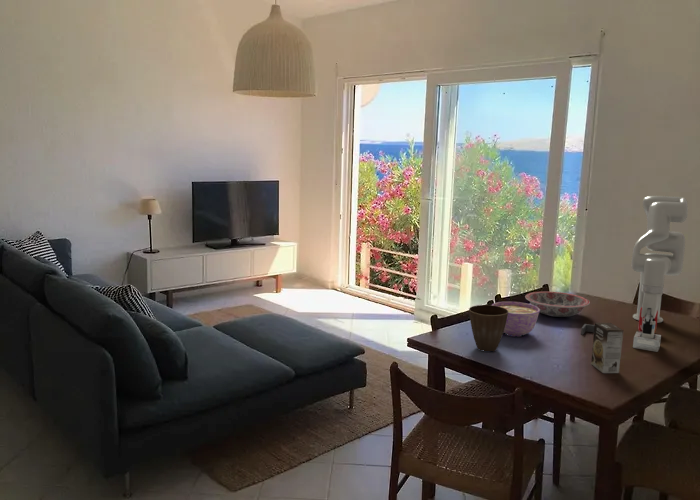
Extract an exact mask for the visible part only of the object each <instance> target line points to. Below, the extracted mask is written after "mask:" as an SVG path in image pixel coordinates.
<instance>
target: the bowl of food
mask: <svg viewBox="0 0 700 500" xmlns="http://www.w3.org/2000/svg"><path fill="white" fill-rule="evenodd" d="M491 305H492V306H498V307H502V308H505V309H507V310H508V316H507V321H506V325H505V329H504V332H503V334H504V333H506V334H508V335H507V336H509V335H512V336H511V337H515V336H517V337H522V336H521V335H523V336H524V335H527V334H529V333H531V332H532V331H533V329H534V328H535V327H536V324H537V320H538V318H539V315H540V309H539V308H538V307H536V306H534V305H531V303H526V302H520V301H498V302H494V303H492V304H491ZM506 334H505V335H506Z"/></svg>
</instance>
